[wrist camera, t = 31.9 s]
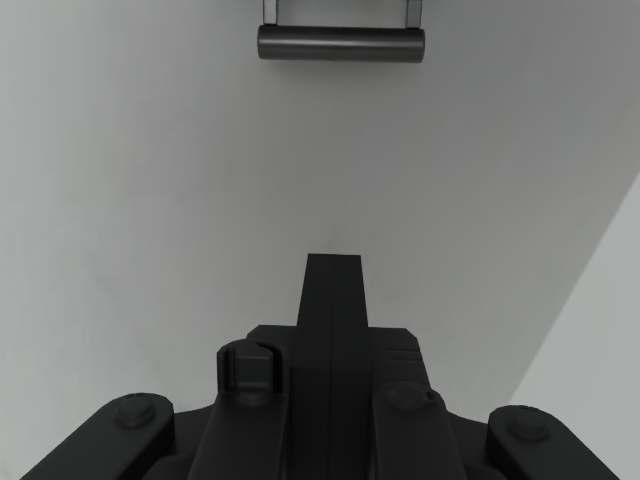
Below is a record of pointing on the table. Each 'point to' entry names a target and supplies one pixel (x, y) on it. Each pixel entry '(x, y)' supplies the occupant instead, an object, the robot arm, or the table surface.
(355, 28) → the drawer
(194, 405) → the table surface
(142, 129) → the table surface
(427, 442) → the robot arm
